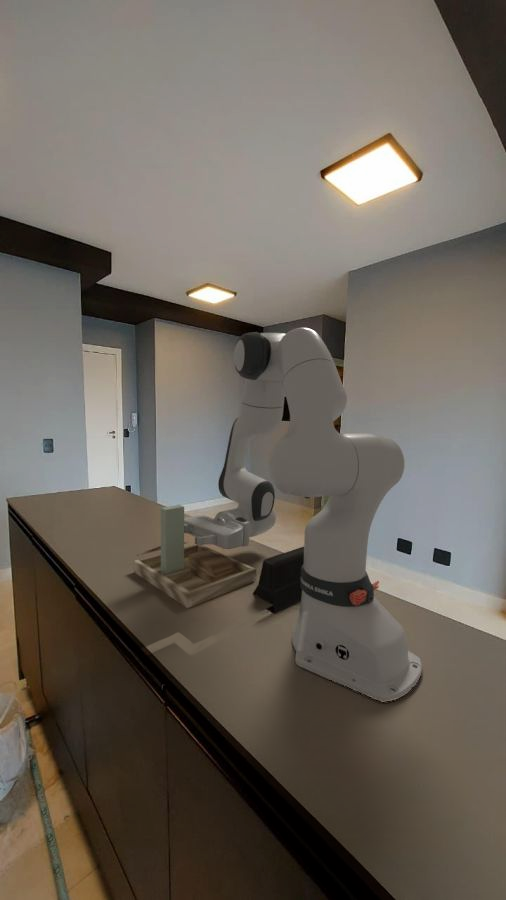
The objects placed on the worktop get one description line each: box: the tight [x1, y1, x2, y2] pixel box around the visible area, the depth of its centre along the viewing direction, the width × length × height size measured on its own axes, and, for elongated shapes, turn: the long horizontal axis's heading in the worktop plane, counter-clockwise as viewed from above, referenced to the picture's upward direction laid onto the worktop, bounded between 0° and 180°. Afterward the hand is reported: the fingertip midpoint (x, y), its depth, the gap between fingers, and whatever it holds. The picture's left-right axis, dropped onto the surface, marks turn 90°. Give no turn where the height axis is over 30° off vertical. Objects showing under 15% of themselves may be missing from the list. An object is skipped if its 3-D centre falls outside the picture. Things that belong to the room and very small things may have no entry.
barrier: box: [252, 546, 304, 615], centre depth 90 cm, size 24×9×10 cm, turn 132°
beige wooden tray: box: [133, 543, 257, 609], centre depth 93 cm, size 24×20×4 cm
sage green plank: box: [160, 504, 185, 575], centre depth 90 cm, size 2×5×18 cm, turn 134°
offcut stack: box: [184, 550, 237, 583], centre depth 95 cm, size 14×7×4 cm, turn 44°
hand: (185, 536), depth 93 cm, fingers open, 8 cm apart
